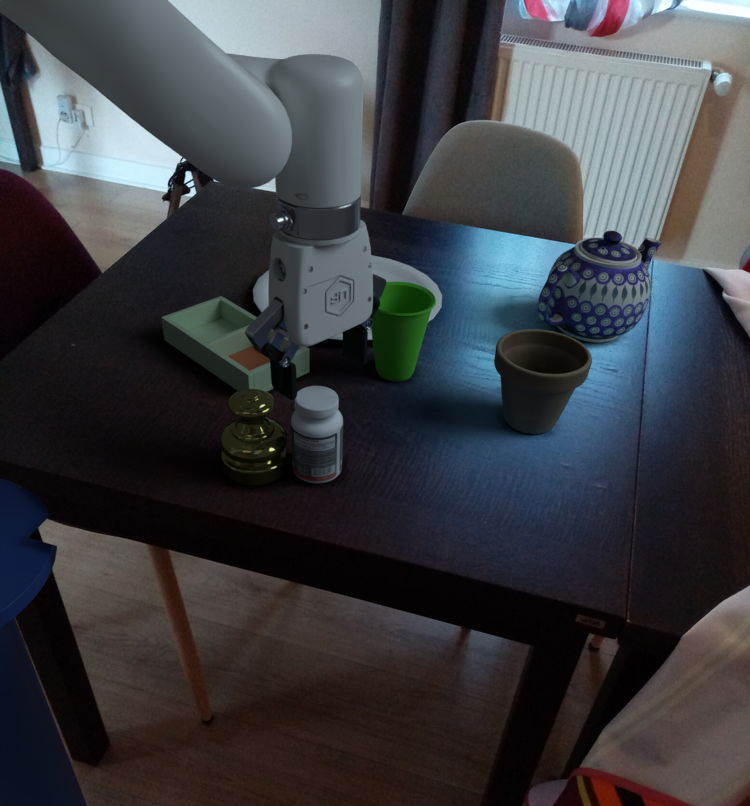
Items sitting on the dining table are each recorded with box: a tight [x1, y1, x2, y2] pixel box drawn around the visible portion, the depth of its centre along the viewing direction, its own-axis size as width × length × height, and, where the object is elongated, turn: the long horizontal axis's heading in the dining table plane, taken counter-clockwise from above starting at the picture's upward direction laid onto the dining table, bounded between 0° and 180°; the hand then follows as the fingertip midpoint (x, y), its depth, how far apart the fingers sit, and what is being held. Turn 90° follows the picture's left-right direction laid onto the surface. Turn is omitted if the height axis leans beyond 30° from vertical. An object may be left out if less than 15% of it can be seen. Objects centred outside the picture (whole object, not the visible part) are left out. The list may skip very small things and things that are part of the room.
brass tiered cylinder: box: [219, 389, 288, 487], centre depth 86 cm, size 7×7×10 cm
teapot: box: [536, 230, 662, 344], centre depth 114 cm, size 25×15×15 cm, turn 125°
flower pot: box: [493, 328, 593, 435], centre depth 96 cm, size 12×11×10 cm
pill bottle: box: [290, 385, 344, 485], centre depth 86 cm, size 6×6×10 cm
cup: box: [371, 282, 436, 382], centre depth 103 cm, size 9×9×11 cm
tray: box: [160, 295, 311, 392], centre depth 106 cm, size 10×19×4 cm, turn 45°
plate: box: [252, 254, 443, 342], centre depth 121 cm, size 29×29×2 cm
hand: (320, 376), depth 82 cm, fingers open, 9 cm apart
